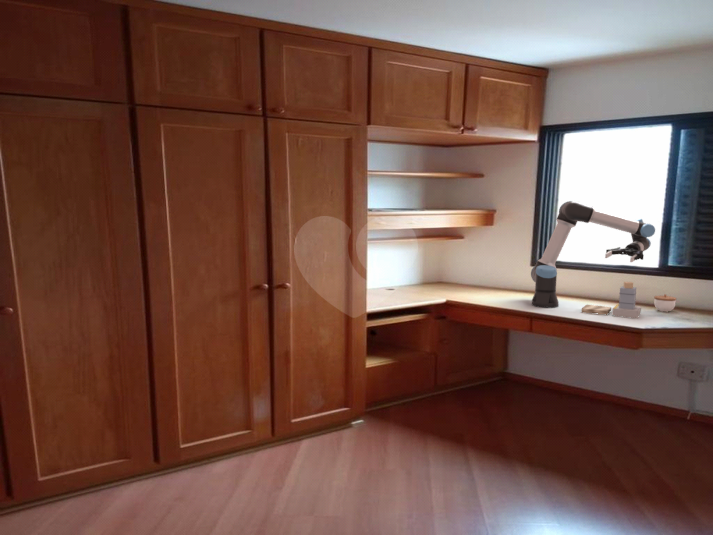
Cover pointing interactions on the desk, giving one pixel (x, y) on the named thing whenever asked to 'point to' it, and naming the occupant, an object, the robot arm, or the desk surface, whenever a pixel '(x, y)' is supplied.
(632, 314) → the dock
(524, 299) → the desk surface
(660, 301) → the lidded jar
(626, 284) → the parcel
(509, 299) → the desk surface
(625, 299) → the grey stacked container
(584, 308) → the pallet
